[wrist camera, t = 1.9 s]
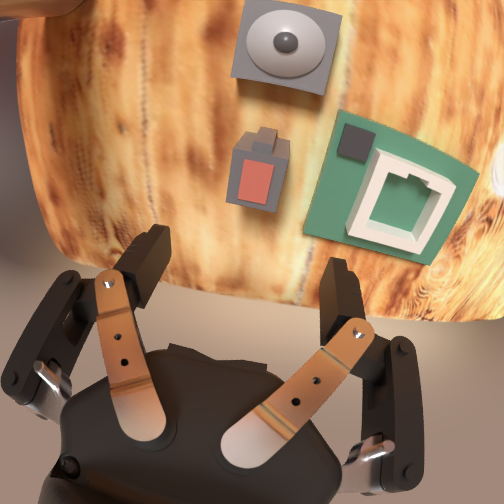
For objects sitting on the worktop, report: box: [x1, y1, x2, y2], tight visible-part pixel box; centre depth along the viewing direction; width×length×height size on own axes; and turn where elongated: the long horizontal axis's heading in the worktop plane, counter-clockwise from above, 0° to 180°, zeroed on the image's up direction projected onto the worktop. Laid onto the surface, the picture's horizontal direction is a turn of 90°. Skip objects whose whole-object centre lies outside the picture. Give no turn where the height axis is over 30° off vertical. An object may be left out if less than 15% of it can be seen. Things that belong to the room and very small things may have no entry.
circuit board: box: [303, 109, 480, 266], centre depth 25 cm, size 18×14×3 cm
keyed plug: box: [226, 127, 290, 213], centre depth 24 cm, size 4×6×6 cm
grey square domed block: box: [231, 0, 342, 96], centre depth 18 cm, size 8×8×3 cm
